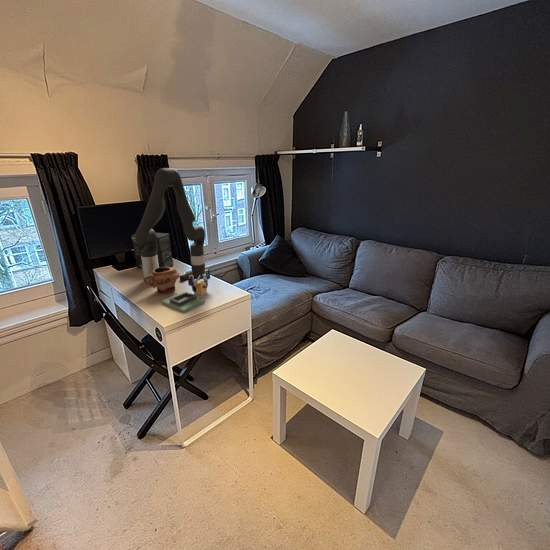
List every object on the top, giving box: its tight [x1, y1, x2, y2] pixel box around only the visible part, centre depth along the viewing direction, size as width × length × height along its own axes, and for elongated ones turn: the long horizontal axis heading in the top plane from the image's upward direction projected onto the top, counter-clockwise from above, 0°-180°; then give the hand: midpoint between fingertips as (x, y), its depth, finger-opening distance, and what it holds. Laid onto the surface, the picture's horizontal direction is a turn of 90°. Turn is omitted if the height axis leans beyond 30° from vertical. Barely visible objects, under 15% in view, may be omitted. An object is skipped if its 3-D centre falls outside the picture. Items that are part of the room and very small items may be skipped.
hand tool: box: [179, 271, 193, 282], centre depth 195 cm, size 19×4×5 cm, turn 145°
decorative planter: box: [143, 266, 181, 295], centre depth 171 cm, size 20×12×14 cm, turn 131°
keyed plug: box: [193, 279, 208, 296], centre depth 170 cm, size 4×9×7 cm, turn 55°
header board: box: [161, 291, 206, 314], centre depth 159 cm, size 18×14×4 cm
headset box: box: [130, 232, 174, 270], centre depth 208 cm, size 22×12×26 cm, turn 73°
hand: (200, 289), depth 171 cm, fingers open, 8 cm apart
